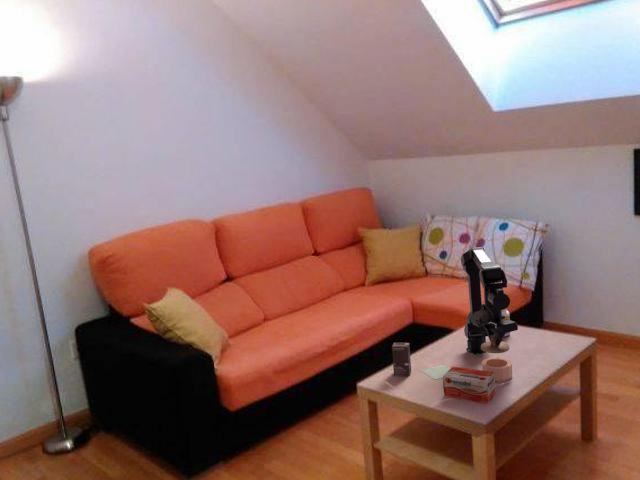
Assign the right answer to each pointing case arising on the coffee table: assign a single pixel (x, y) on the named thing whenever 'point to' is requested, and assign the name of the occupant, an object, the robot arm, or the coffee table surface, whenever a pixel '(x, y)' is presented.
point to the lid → (494, 346)
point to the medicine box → (469, 384)
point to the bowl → (498, 368)
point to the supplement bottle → (506, 318)
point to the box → (401, 359)
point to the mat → (436, 371)
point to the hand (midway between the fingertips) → (495, 344)
